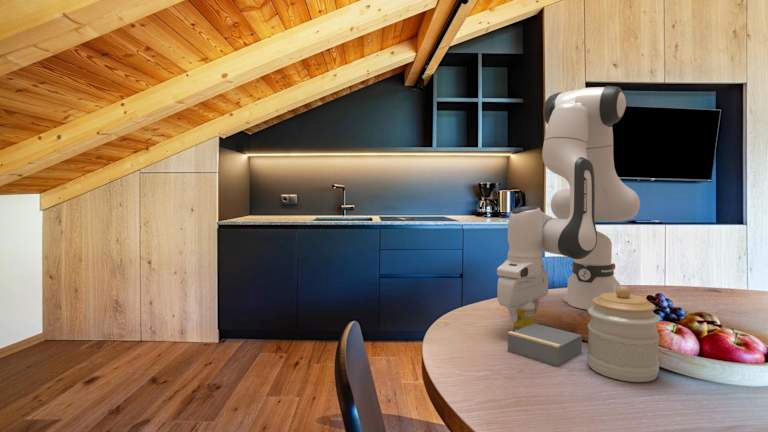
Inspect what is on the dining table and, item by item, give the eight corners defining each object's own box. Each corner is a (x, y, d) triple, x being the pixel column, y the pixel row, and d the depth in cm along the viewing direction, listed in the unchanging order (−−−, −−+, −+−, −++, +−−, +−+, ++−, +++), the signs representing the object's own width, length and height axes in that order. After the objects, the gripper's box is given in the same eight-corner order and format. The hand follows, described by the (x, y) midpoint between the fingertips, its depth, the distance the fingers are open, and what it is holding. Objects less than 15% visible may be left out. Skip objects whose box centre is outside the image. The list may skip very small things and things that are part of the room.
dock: (533, 338, 104) (533, 321, 103) (581, 351, 95) (582, 333, 94) (507, 350, 96) (507, 332, 96) (557, 366, 87) (557, 346, 87)
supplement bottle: (510, 327, 113) (510, 292, 112) (529, 327, 113) (529, 292, 113) (518, 334, 107) (518, 297, 107) (538, 333, 108) (538, 297, 107)
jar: (616, 354, 93) (618, 278, 92) (674, 377, 81) (676, 290, 80) (573, 362, 89) (574, 282, 88) (627, 388, 77) (628, 296, 76)
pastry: (594, 345, 99) (594, 330, 99) (567, 339, 104) (567, 324, 104) (609, 336, 105) (609, 322, 105) (582, 330, 110) (582, 316, 110)
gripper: (533, 260, 118) (532, 307, 119) (493, 269, 105) (492, 322, 106) (554, 263, 114) (553, 312, 114) (515, 273, 100) (514, 328, 101)
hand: (524, 317), depth 110 cm, fingers open, 8 cm apart
